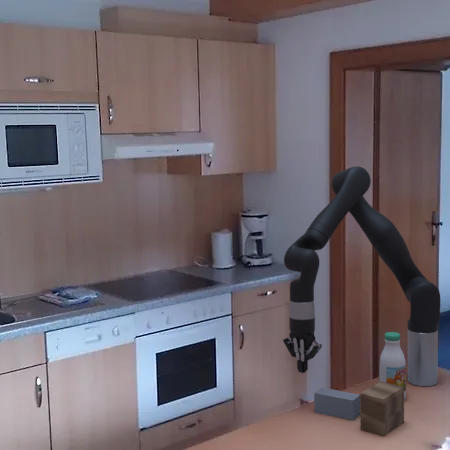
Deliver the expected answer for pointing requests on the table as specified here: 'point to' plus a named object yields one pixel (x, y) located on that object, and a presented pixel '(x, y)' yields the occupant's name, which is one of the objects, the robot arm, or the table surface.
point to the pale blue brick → (337, 403)
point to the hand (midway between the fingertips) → (302, 371)
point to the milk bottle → (393, 362)
